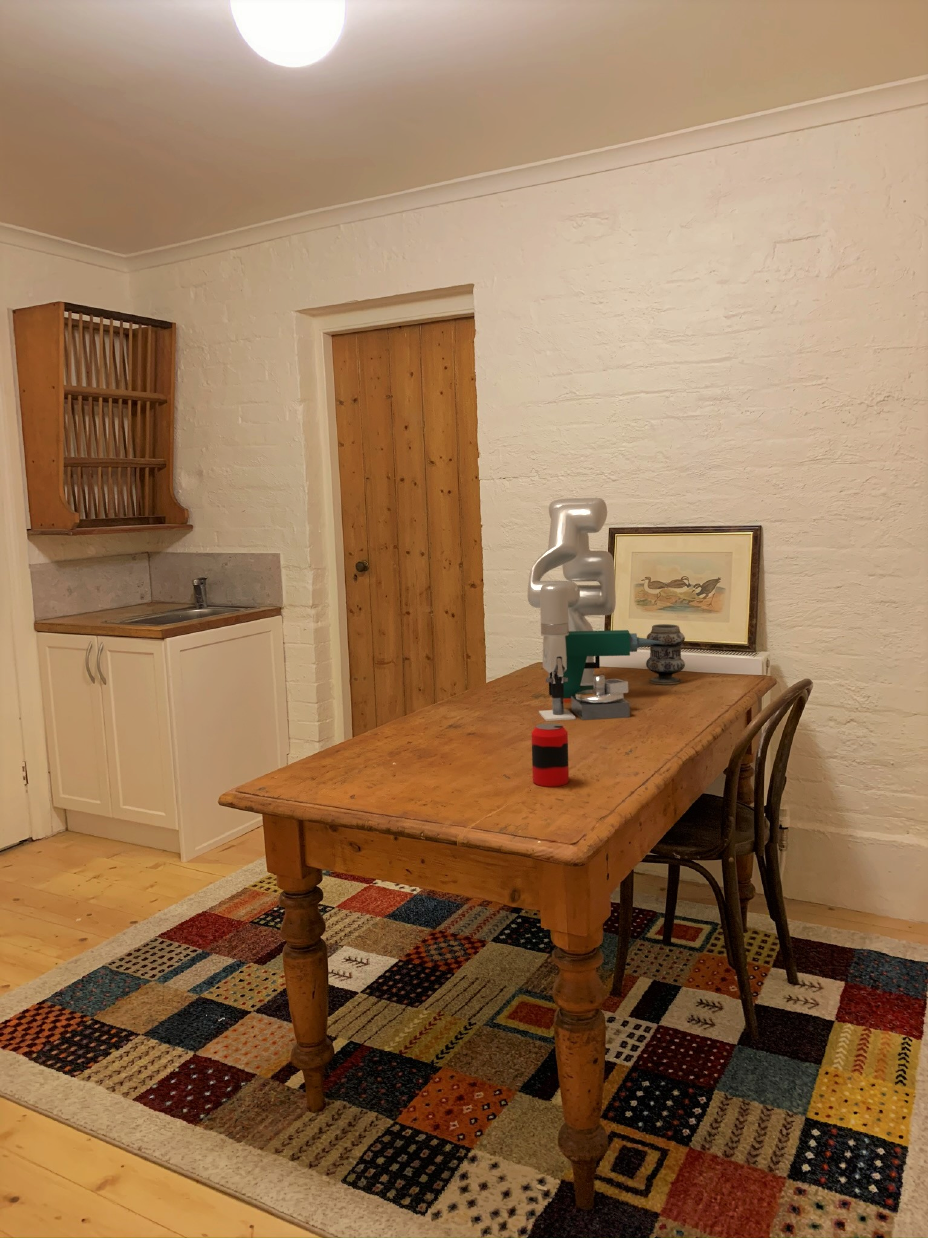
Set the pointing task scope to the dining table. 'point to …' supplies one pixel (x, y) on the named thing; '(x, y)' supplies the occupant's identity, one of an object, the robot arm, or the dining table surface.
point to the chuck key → (557, 700)
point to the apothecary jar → (665, 653)
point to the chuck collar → (604, 690)
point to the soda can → (550, 755)
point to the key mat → (550, 716)
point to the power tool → (595, 653)
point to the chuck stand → (600, 709)
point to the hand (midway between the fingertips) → (556, 695)
